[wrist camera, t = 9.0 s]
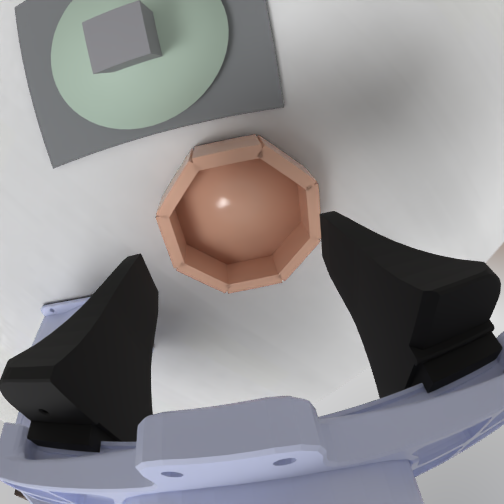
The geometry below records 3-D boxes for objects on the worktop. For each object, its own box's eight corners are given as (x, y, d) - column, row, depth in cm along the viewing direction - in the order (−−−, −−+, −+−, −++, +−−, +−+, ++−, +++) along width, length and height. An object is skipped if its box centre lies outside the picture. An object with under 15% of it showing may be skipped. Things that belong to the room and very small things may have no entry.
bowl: (188, 276, 25) (187, 301, 22) (150, 156, 19) (140, 171, 17) (312, 250, 25) (323, 273, 22) (300, 125, 19) (314, 135, 17)
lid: (79, 148, 17) (51, 170, 14) (44, 6, 11) (10, -2, 8) (243, 102, 17) (251, 111, 14) (210, -53, 11) (210, -80, 8)
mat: (56, 166, 18) (53, 168, 18) (18, 8, 11) (14, 7, 11) (282, 106, 18) (284, 107, 18) (248, -69, 11) (249, -72, 11)
